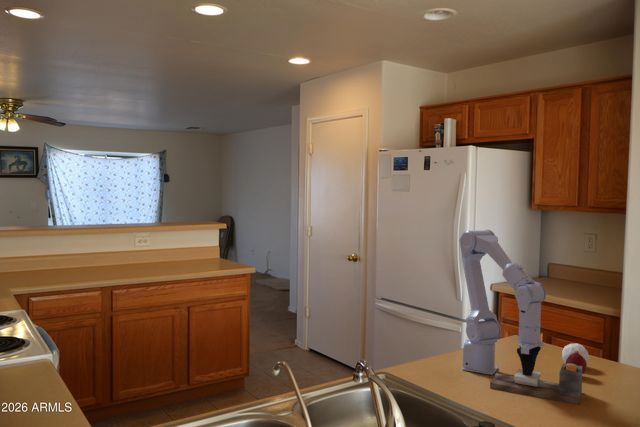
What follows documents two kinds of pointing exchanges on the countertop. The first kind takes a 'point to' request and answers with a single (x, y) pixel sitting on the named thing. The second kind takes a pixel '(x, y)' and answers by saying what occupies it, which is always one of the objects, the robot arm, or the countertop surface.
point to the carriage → (527, 378)
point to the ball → (572, 348)
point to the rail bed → (545, 386)
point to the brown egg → (571, 367)
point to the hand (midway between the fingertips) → (528, 372)
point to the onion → (577, 360)
